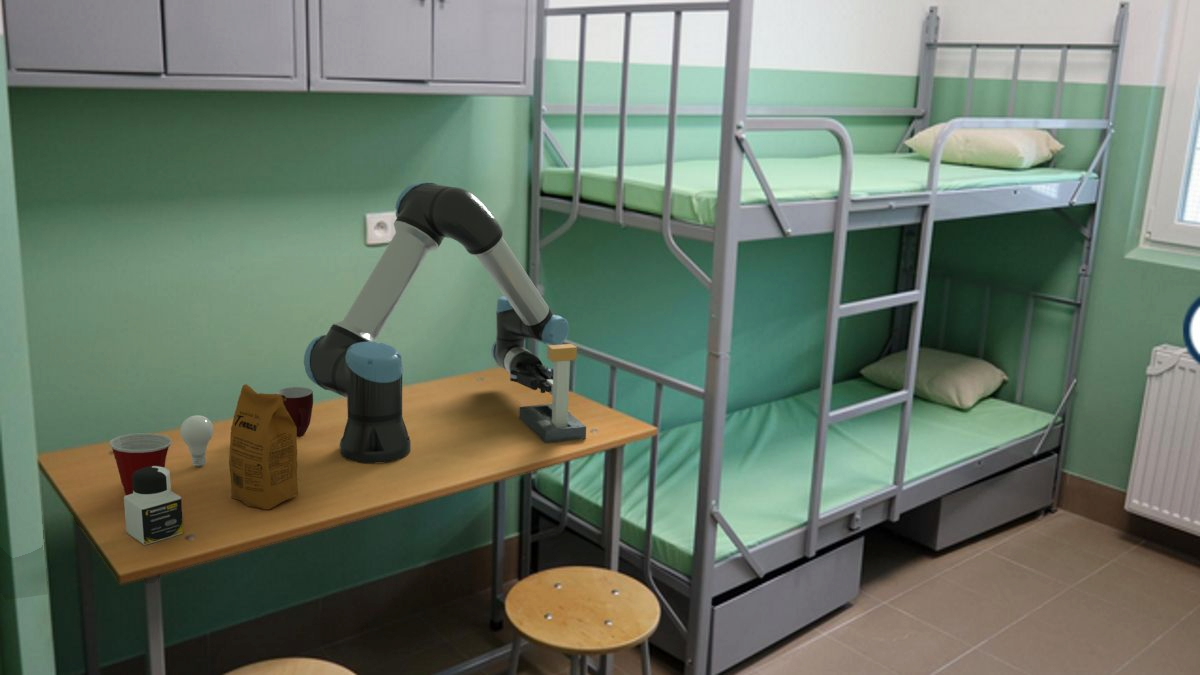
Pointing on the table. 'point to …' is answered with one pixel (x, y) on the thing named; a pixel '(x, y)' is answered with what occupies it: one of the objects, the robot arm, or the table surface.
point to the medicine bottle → (153, 506)
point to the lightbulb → (197, 437)
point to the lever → (561, 381)
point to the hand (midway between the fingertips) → (559, 392)
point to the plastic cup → (138, 454)
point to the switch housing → (550, 424)
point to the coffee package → (262, 450)
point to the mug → (299, 406)
